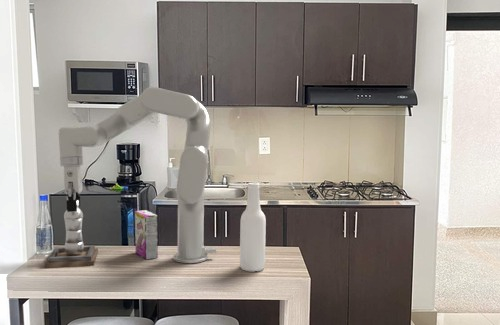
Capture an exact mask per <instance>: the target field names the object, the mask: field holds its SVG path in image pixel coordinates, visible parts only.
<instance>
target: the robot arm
mask: <svg viewBox="0 0 500 325" xmlns="http://www.w3.org/2000/svg"><path fill="white" fill-rule="evenodd" d="M157 114H161V115H166V116H169V117H175V118H179V119H183V120H185V122H186V125H187V126H186V133H185V134H186V135H185V142H184V149H183V151H182V152H181V155H180V161H179V165H178V166H179V168H178V173H177V174H178V175H177V181H176V182H177V183H176V188H175V189H176V195H177V252H176V253H175V254H174V255H173V258H172V259H173V261H175V262H177V263H182V264H195V263H196V264H197V263H198V264H199V263H202V262H205V261H206V260H207V259H208V257H209V256H208V254H216V253H217V248H215V247H212V246H211V247H205V245H204V233H205V232H204V229H205V228H204V227H205V226H204V224H205V223H204V222H205V221H204V217H205V185H206V179H207V178H206V177H207V172H208V164H209V155H208V152H209V144H210V135H211V119H210V116H209V115H210V114H209V113H208V111H207V108H205V106H204V105H203V104H202V103H201V102H200V101H199V100H197V99H196V98H195V97H194V96H192V95H190V94H187V93H182V92H178V91H173V90H169V89H165V88H160V87H158V86H149V87H147V88H145V89H144V90H143V91H142V93H141V94H139V95H138V96H136V97H134V98H132V99H131V100H129V101H127V102H125V103H124V104H122V105H120V106H118V108H117V109H116V110H115V112H114V113H113V114H111V115H110V116H109V117H107V118H105V119H104V120H102V121H100V122H99V123H97V124H95V125H87V126H81V127H79V126H62V127H60V128H59V129H58V142H59V143H58V145H59V160H60V161H59V163H60V164H59V165H60V167H63V182H64V183H63V184H64V193H65V194H66V210H67V212H73V211H77V201H76V200H79V206H78V207H81V194H80V193H81V192H82V191H83V188H84V187H83V177H82V176H83V175H82V167H81V166H83V165H84V161H83V159H84V158H83V148H94V147H99V146H102V145H104V144H106V143H108V142H109V141H111V140H113V139H115V138H117V137H118V136H119V135H120V136H121V134H123V133H124V132H127V131H128V130H132V129H133V128H134V127H136V126H137V125H139V124H141V123H142V122H144V121H146V120H147V119H150V118H151V117H153V116H155V115H157Z"/></svg>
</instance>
